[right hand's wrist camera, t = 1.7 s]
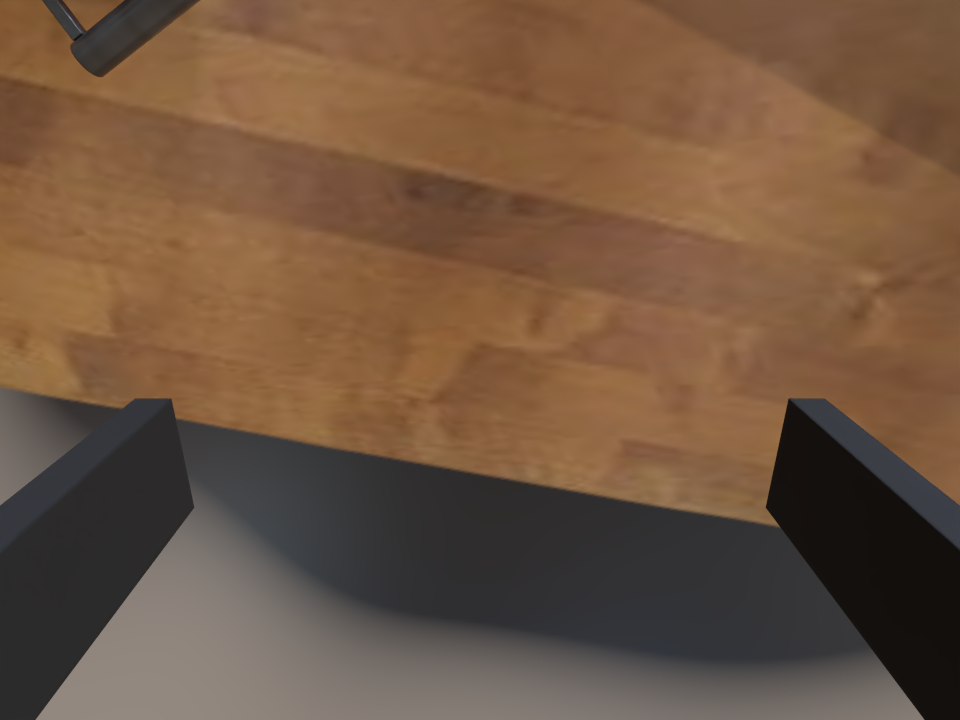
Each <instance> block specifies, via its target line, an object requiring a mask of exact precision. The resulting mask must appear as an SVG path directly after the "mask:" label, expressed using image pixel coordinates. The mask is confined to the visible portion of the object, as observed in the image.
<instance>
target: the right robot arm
mask: <svg viewBox="0 0 960 720" xmlns="http://www.w3.org/2000/svg"><path fill="white" fill-rule="evenodd" d="M193 508H194V504H193V500H192V495H191V490H190V485H189V481H188V476H187V471H186V466H185V461H184V457H183V452H182V447H181V442H180V438H179V433H178V428H177V423H176V418H175V414H174V409H173V404H172V399H134V400H133V401H132V402H130V403H129V404H128V405H127V406H125V407H124V408H123V409H122V410H120V411H119V412H118V413H117V414H115V415H114V416H113V417H112V418H110V419H109V420H108V421H107V422H105V423H104V424H103V425H101V426H100V427H99V428H98V429H96V430H95V431H94V432H93V433H91V434H90V435H89V436H88V437H86V438H85V439H84V440H82V441H81V442H80V443H79V444H77V445H76V446H75V447H74V448H72V449H71V450H70V451H69V452H67V453H66V454H65V455H64V456H62V457H61V458H60V459H59V460H57V461H56V462H55V463H53V464H52V465H51V466H50V467H48V468H47V469H46V470H45V471H43V472H42V473H41V474H40V475H38V476H37V477H36V478H35V479H33V480H32V481H31V482H30V483H28V484H27V485H26V486H24V487H23V488H22V489H21V490H19V491H18V492H17V493H16V494H14V495H13V496H12V497H11V498H9V499H8V500H7V501H5V502H4V503H3V504H2V505H0V720H36V718H37V717H38V716H39V714H40V713H41V712H42V710H43V709H44V707H45V706H46V705H47V703H48V702H49V701H50V699H51V698H52V697H53V695H54V694H55V693H56V691H57V690H58V689H59V687H60V686H61V685H62V683H63V682H64V681H65V679H66V678H67V677H68V675H69V674H70V673H71V671H72V670H73V669H74V667H75V666H76V665H77V663H78V662H79V661H80V659H81V658H82V657H83V655H84V654H85V653H86V651H87V650H88V649H89V647H90V646H91V645H92V643H93V642H94V641H95V639H96V638H97V637H98V635H99V634H100V633H101V631H102V630H103V629H104V627H105V626H106V625H107V623H108V622H109V621H110V619H111V618H112V617H113V615H114V614H115V613H116V611H117V610H118V609H119V607H120V606H121V605H122V603H123V602H124V601H125V599H126V598H127V596H128V595H129V594H130V593H131V591H132V590H133V589H134V587H135V586H136V585H137V583H138V582H139V581H140V579H141V578H142V577H143V575H144V574H145V573H146V571H147V570H148V569H149V567H150V566H151V565H152V563H153V562H154V561H155V559H156V558H157V557H158V555H159V554H160V553H161V551H162V550H163V548H164V547H165V546H166V544H167V543H168V542H169V540H170V539H171V538H172V536H173V535H174V534H175V532H176V531H177V530H178V528H179V527H180V526H181V524H182V523H183V522H184V520H185V519H186V518H187V516H188V515H189V514H190V512H191V511H192V510H193ZM766 508H767V510H768V511H769V512H770V514H771V515H772V516H773V518H774V519H775V520H776V522H777V523H778V524H779V526H780V527H781V528H782V530H783V531H784V532H785V534H786V535H787V536H788V538H789V539H790V540H791V542H792V543H793V544H794V546H795V547H796V549H797V550H798V551H799V553H800V554H801V555H802V557H803V558H804V559H805V561H806V562H807V563H808V565H809V566H810V567H811V569H812V570H813V571H814V573H815V574H816V575H817V577H818V578H819V579H820V581H821V582H822V583H823V585H824V586H825V587H826V589H827V590H828V591H829V593H830V594H831V595H832V597H833V598H834V599H835V601H836V602H837V603H838V605H839V606H840V607H841V609H842V610H843V611H844V613H845V614H846V615H847V617H848V618H849V619H850V621H851V622H852V623H853V625H854V626H855V627H856V629H857V630H858V631H859V633H860V634H861V635H862V637H863V638H864V639H865V641H866V642H867V643H868V645H869V646H870V647H871V649H872V650H873V651H874V653H875V654H876V655H877V657H878V658H879V659H880V661H881V662H882V663H883V665H884V666H885V667H886V669H887V670H888V671H889V673H890V674H891V675H892V677H893V678H894V679H895V681H896V682H897V683H898V685H899V686H900V687H901V689H902V690H903V691H904V693H905V694H906V695H907V697H908V698H909V699H910V701H911V702H912V703H913V705H914V706H915V708H916V709H917V710H918V712H919V713H920V714H921V716H922V717H923V718H924V720H960V505H958V504H957V503H956V502H955V501H953V500H952V499H951V498H949V497H948V496H947V495H946V494H944V493H943V492H942V491H941V490H939V489H938V488H937V487H936V486H934V485H933V484H932V483H931V482H929V481H928V480H927V479H925V478H924V477H923V476H922V475H920V474H919V473H918V472H917V471H915V470H914V469H913V468H912V467H910V466H909V465H908V464H907V463H905V462H904V461H903V460H901V459H900V458H899V457H898V456H896V455H895V454H894V453H893V452H891V451H890V450H889V449H888V448H886V447H885V446H884V445H883V444H881V443H880V442H879V441H878V440H876V439H875V438H874V437H872V436H871V435H870V434H869V433H867V432H866V431H865V430H864V429H862V428H861V427H860V426H859V425H857V424H856V423H855V422H854V421H852V420H851V419H850V418H848V417H847V416H846V415H845V414H843V413H842V412H841V411H840V410H838V409H837V408H836V407H835V406H833V405H832V404H831V403H830V402H828V401H827V400H826V399H788V404H787V409H786V414H785V418H784V423H783V428H782V433H781V438H780V442H779V447H778V452H777V457H776V461H775V466H774V471H773V476H772V480H771V485H770V490H769V495H768V500H767V504H766Z"/></svg>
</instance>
